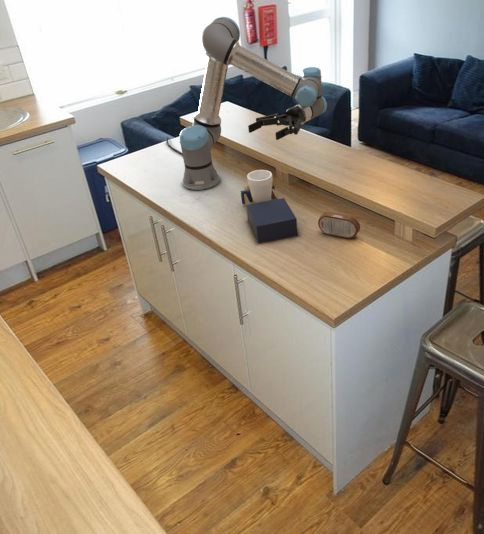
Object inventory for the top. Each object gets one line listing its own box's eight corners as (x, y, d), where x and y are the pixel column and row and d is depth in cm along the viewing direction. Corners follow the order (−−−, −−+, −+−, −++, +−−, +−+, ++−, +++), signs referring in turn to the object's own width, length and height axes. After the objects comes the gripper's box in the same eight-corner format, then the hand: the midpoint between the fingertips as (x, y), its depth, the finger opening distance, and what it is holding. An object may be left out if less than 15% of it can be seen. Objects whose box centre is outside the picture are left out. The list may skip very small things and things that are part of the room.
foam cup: (271, 212, 212) (268, 181, 205) (247, 211, 214) (244, 180, 207) (276, 200, 220) (274, 170, 212) (254, 199, 222) (250, 169, 214)
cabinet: (248, 221, 212) (246, 204, 208) (285, 214, 215) (284, 197, 211) (258, 243, 199) (256, 226, 195) (297, 235, 201) (296, 218, 197)
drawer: (238, 196, 227) (237, 184, 224) (270, 190, 230) (269, 178, 226) (250, 221, 210) (249, 209, 207) (285, 215, 212) (284, 202, 209)
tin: (360, 236, 198) (360, 216, 193) (357, 241, 196) (357, 220, 191) (320, 229, 204) (320, 209, 199) (317, 234, 202) (316, 213, 197)
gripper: (323, 130, 218) (289, 149, 205) (274, 118, 232) (239, 135, 219) (323, 111, 214) (287, 129, 201) (273, 100, 227) (237, 117, 214)
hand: (262, 132), depth 210 cm, fingers open, 13 cm apart
